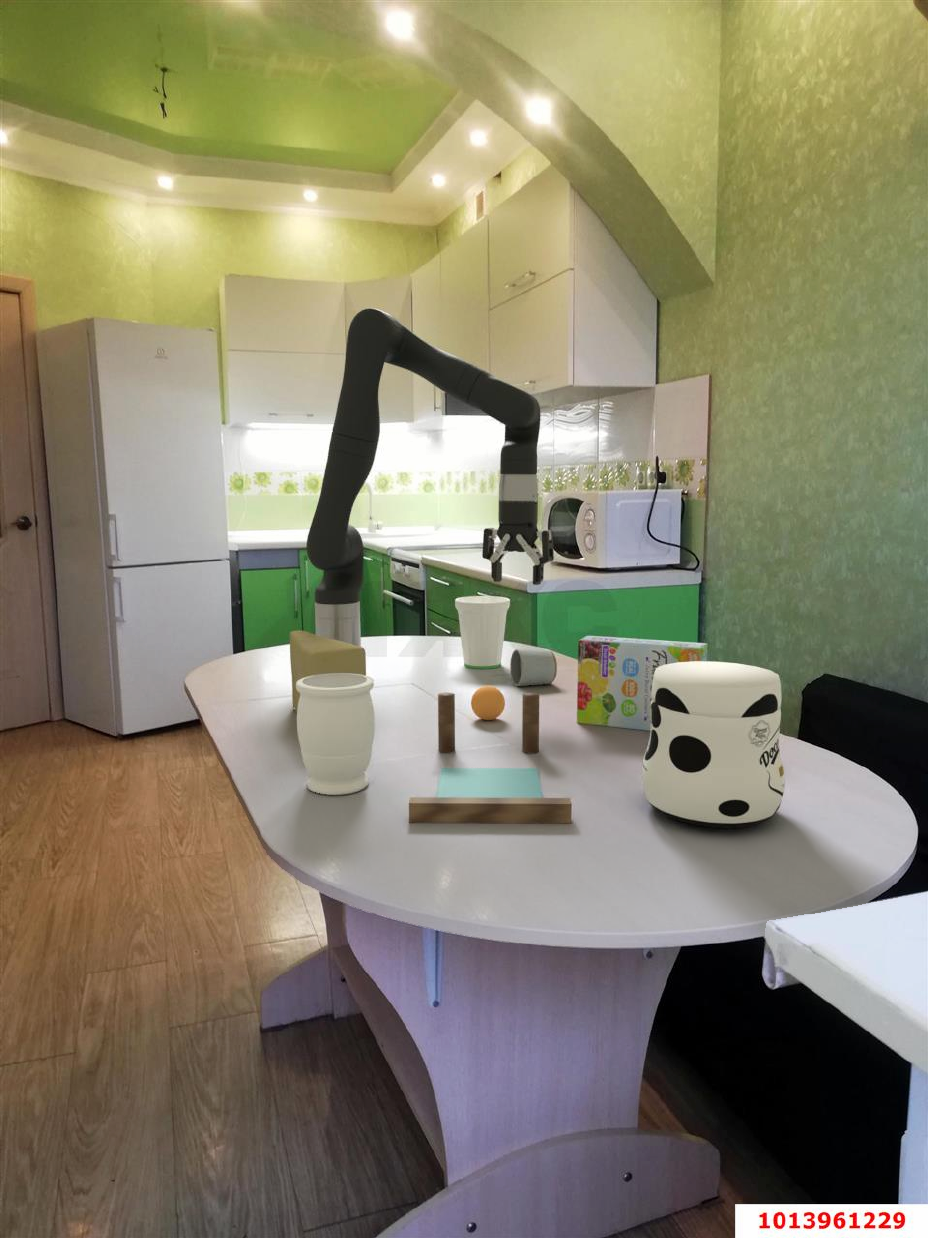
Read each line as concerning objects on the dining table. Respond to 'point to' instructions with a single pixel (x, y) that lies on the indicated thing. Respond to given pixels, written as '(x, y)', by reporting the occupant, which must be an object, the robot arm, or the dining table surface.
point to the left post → (446, 722)
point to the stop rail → (489, 810)
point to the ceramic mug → (533, 667)
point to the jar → (336, 731)
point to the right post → (530, 723)
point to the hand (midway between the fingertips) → (517, 582)
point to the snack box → (624, 677)
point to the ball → (487, 702)
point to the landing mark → (489, 783)
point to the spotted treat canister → (714, 744)
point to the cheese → (322, 658)
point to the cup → (482, 629)
